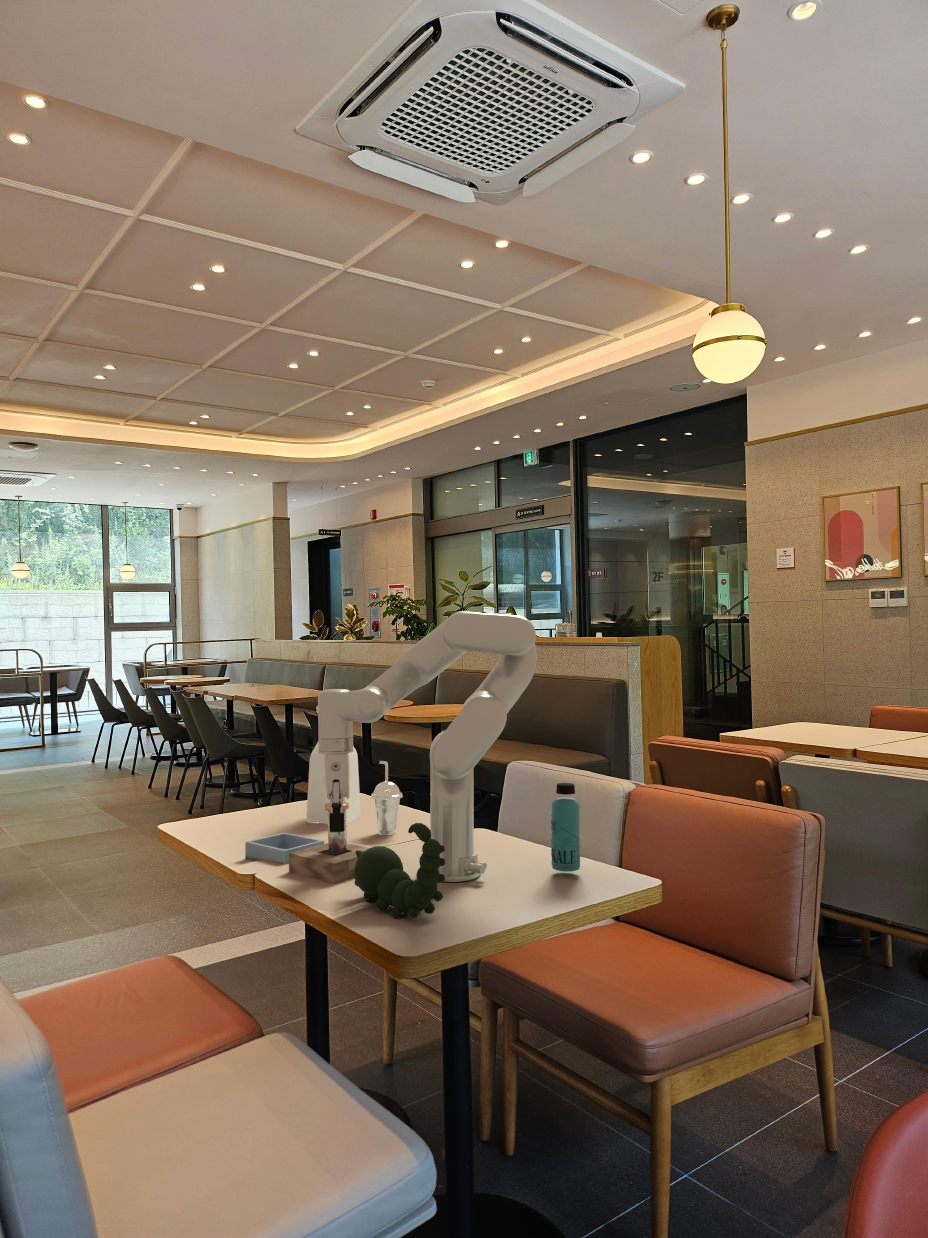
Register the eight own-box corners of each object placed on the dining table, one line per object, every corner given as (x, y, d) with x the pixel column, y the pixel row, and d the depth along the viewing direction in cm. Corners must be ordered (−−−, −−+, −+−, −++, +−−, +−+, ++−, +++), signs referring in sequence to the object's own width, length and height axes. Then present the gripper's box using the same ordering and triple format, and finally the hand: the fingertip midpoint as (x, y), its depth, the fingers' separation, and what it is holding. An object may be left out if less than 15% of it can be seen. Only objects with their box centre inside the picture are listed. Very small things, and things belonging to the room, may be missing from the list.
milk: (306, 822, 234) (306, 730, 234) (322, 814, 245) (322, 726, 246) (345, 825, 231) (346, 731, 232) (360, 816, 242) (360, 727, 243)
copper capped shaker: (354, 853, 181) (353, 803, 182) (337, 858, 177) (336, 807, 177) (338, 850, 184) (337, 800, 185) (320, 855, 180) (319, 804, 181)
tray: (324, 857, 196) (324, 840, 196) (284, 869, 186) (284, 851, 186) (284, 848, 204) (284, 832, 204) (245, 859, 195) (245, 842, 195)
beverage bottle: (571, 869, 185) (571, 780, 186) (586, 877, 179) (586, 784, 180) (545, 872, 183) (545, 781, 184) (559, 880, 177) (559, 786, 177)
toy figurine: (453, 928, 152) (372, 887, 170) (459, 827, 151) (377, 796, 170) (413, 941, 146) (334, 896, 164) (419, 835, 145) (339, 802, 163)
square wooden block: (380, 874, 182) (380, 850, 182) (334, 889, 171) (334, 863, 171) (335, 863, 190) (335, 841, 191) (288, 877, 179) (288, 853, 179)
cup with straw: (409, 833, 220) (409, 758, 221) (382, 839, 214) (382, 761, 215) (389, 828, 226) (389, 755, 227) (362, 833, 220) (362, 758, 221)
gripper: (353, 749, 174) (354, 837, 173) (353, 740, 190) (354, 820, 190) (317, 751, 173) (318, 839, 172) (320, 741, 189) (321, 821, 189)
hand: (337, 828), depth 181 cm, fingers closed on copper capped shaker, 4 cm apart
